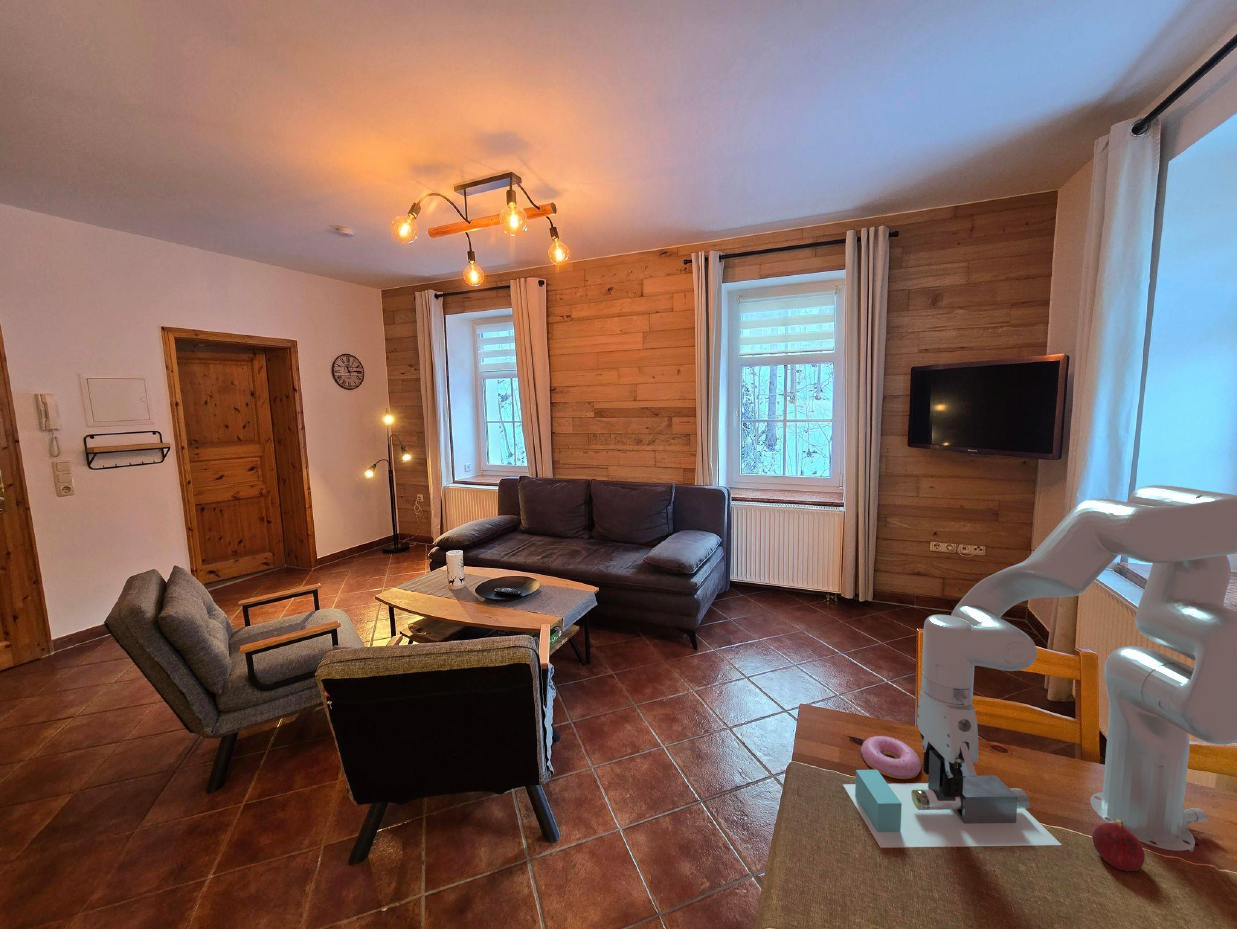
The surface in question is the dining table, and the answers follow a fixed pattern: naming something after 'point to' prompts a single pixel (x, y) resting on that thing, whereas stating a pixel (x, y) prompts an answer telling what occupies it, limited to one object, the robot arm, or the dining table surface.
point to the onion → (1118, 846)
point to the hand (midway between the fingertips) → (942, 783)
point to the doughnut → (898, 768)
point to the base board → (952, 826)
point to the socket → (878, 801)
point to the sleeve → (987, 801)
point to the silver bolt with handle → (934, 795)
